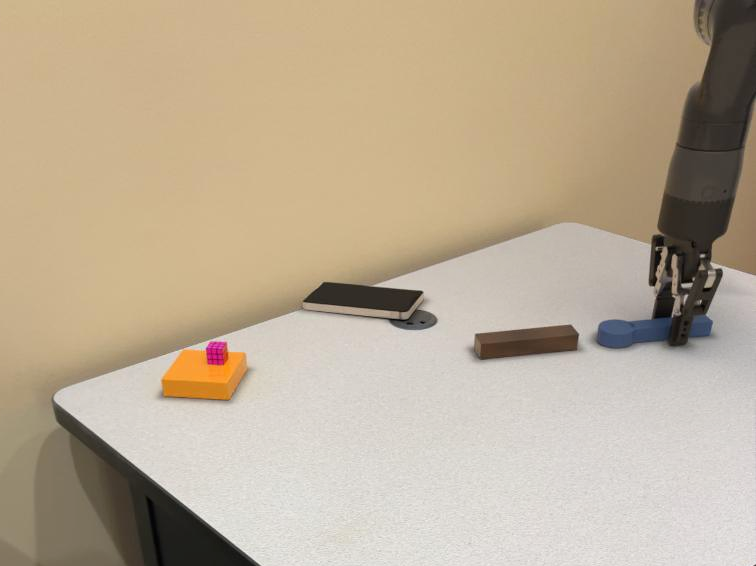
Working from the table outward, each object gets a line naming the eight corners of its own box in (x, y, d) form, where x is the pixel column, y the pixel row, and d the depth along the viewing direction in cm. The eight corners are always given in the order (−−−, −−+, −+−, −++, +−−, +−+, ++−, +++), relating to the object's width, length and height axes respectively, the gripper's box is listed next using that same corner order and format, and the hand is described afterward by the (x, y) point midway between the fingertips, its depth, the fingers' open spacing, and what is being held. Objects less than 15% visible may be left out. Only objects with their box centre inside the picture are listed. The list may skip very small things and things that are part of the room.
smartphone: (323, 280, 127) (425, 290, 122) (323, 289, 127) (424, 298, 122) (301, 302, 121) (406, 312, 116) (301, 310, 122) (406, 321, 117)
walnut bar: (568, 339, 110) (571, 324, 109) (577, 349, 108) (579, 334, 107) (473, 349, 110) (474, 333, 108) (479, 359, 107) (481, 343, 106)
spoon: (697, 324, 112) (700, 310, 110) (713, 338, 108) (717, 324, 107) (590, 334, 111) (593, 321, 110) (603, 349, 107) (606, 335, 106)
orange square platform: (228, 400, 103) (224, 366, 100) (163, 396, 104) (157, 362, 102) (247, 369, 109) (244, 336, 106) (185, 366, 110) (180, 333, 107)
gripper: (766, 204, 93) (724, 357, 104) (704, 168, 104) (672, 310, 115) (696, 210, 93) (662, 363, 104) (641, 173, 104) (616, 315, 115)
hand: (668, 334), depth 109 cm, fingers open, 4 cm apart
